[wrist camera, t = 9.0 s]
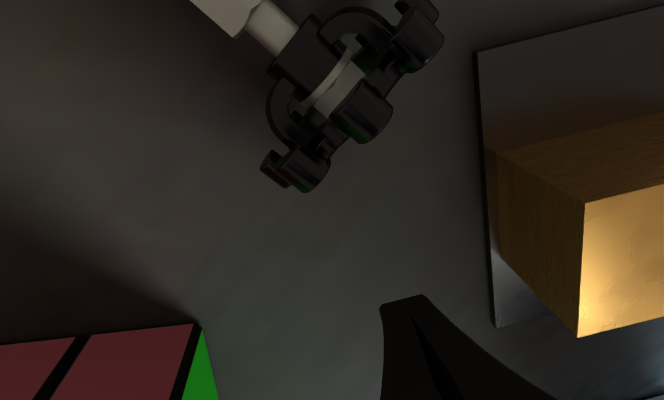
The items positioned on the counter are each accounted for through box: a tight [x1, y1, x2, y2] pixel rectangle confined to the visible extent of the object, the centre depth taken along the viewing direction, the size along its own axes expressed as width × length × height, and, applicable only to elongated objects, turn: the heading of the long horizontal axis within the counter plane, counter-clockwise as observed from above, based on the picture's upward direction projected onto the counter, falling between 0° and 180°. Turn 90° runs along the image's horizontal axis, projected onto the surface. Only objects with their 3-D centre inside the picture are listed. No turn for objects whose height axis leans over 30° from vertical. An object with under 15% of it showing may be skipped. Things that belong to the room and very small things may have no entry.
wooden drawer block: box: [496, 112, 664, 338], centre depth 14 cm, size 8×5×5 cm, turn 102°
